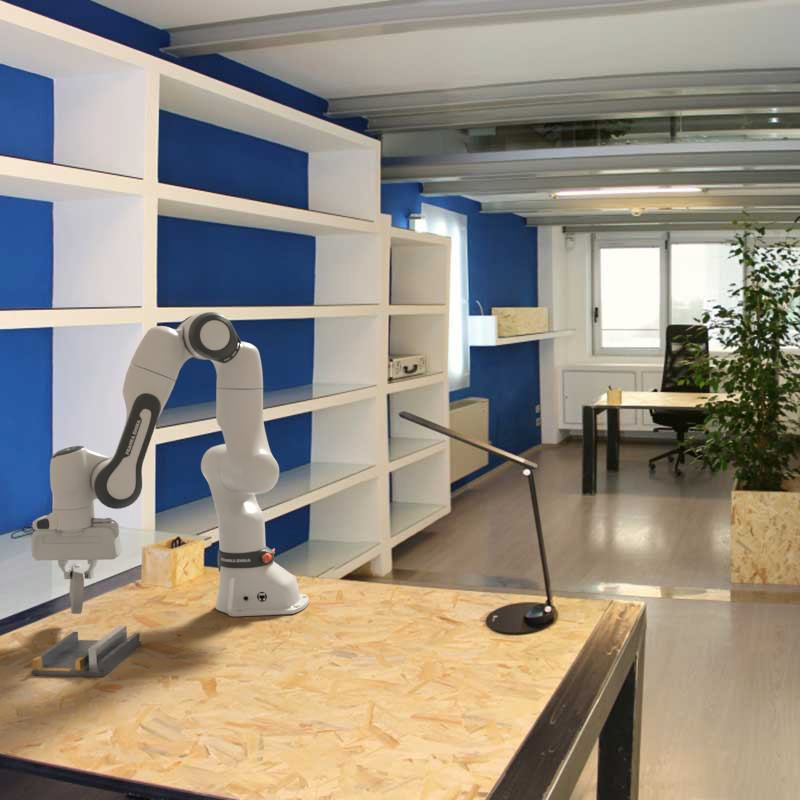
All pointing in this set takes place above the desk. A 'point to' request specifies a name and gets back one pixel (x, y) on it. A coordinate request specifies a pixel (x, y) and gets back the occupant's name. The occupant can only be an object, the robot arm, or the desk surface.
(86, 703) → the desk surface
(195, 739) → the desk surface
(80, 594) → the game controller
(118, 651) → the phone stand
